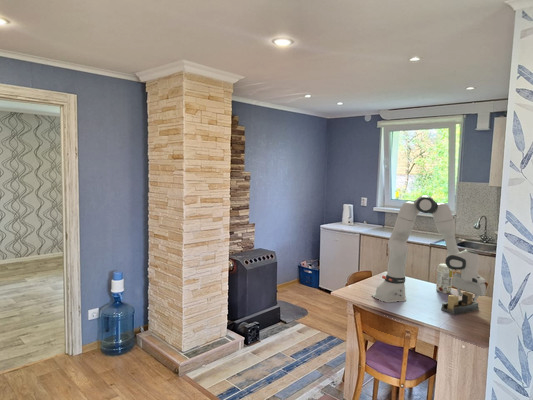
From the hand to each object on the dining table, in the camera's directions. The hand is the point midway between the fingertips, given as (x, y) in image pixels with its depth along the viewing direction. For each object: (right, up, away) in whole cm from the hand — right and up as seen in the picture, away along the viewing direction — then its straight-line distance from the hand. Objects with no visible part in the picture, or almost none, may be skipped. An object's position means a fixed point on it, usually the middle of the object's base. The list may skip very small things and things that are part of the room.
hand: (467, 298), depth 225 cm
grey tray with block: (-6, -7, -2) cm, 9 cm away
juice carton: (0, -4, +30) cm, 30 cm away
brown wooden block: (0, -5, +1) cm, 5 cm away
